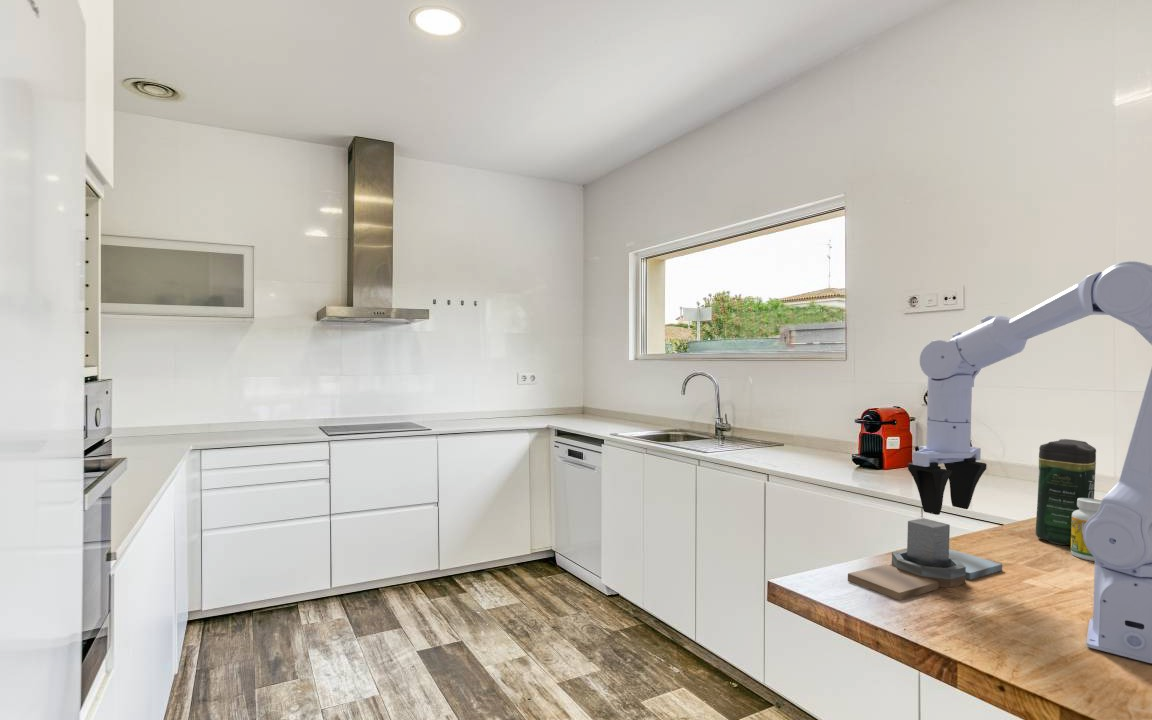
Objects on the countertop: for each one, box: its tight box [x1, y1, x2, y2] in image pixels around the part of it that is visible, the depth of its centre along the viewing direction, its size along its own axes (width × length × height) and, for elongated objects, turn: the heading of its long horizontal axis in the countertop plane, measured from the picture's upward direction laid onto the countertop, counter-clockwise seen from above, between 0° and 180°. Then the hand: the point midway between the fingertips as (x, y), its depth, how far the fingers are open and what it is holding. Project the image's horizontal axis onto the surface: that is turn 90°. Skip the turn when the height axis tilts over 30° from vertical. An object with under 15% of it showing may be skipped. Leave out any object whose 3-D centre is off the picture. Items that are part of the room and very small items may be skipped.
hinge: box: [847, 548, 1003, 601], centre depth 93 cm, size 26×9×2 cm, turn 119°
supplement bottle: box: [1070, 498, 1102, 562], centre depth 103 cm, size 5×5×10 cm
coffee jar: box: [1035, 438, 1097, 546], centre depth 112 cm, size 10×8×19 cm
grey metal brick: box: [906, 517, 951, 568], centre depth 93 cm, size 4×4×8 cm
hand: (946, 510), depth 93 cm, fingers open, 7 cm apart
